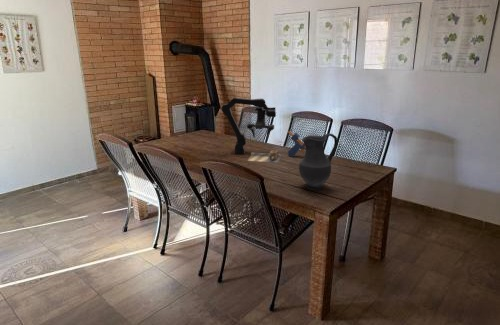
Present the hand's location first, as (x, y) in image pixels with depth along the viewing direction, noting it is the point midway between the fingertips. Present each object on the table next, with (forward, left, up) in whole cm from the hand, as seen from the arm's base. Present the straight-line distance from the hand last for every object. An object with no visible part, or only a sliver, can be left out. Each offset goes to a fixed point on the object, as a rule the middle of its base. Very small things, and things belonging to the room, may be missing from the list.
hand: (260, 138), depth 248 cm
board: (+5, -13, -13) cm, 19 cm away
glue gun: (+32, +1, -13) cm, 34 cm away
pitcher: (+42, -56, -13) cm, 71 cm away
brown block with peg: (+11, -13, -11) cm, 20 cm away
